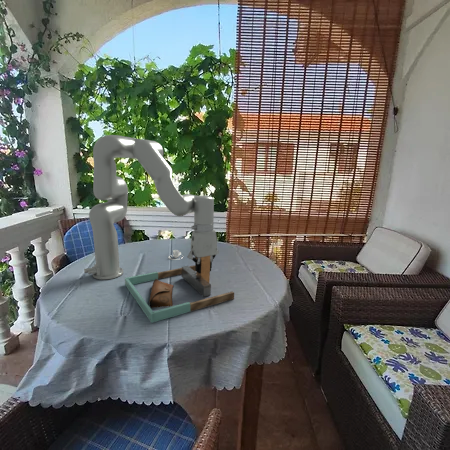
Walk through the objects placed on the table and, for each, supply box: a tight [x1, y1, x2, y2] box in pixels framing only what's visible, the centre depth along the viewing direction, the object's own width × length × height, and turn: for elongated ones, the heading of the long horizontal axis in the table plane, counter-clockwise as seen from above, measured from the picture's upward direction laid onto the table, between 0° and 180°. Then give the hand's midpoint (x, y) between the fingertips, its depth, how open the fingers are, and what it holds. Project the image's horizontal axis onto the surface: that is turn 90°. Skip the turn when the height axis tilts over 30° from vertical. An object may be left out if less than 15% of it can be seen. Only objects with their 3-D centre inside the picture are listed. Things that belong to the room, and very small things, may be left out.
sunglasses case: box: [148, 279, 175, 309], centre depth 108 cm, size 18×7×7 cm
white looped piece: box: [167, 249, 184, 261], centre depth 150 cm, size 9×8×4 cm
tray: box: [124, 271, 191, 324], centre depth 106 cm, size 14×32×3 cm, turn 33°
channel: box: [157, 264, 235, 312], centre depth 115 cm, size 18×32×2 cm, turn 33°
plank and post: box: [181, 256, 212, 298], centre depth 116 cm, size 7×20×14 cm, turn 33°
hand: (203, 270), depth 116 cm, fingers closed on plank and post, 4 cm apart
